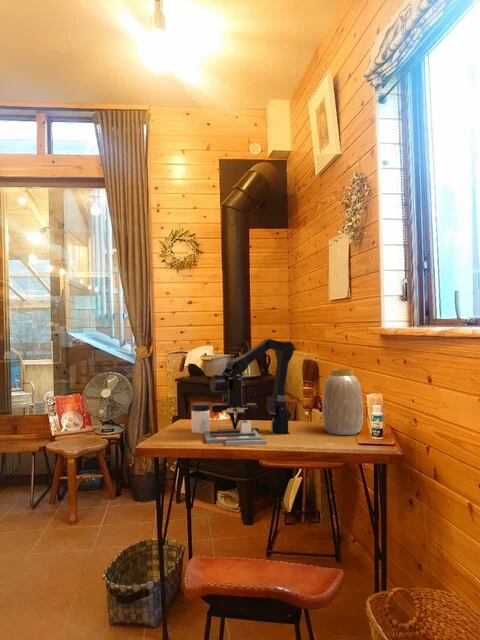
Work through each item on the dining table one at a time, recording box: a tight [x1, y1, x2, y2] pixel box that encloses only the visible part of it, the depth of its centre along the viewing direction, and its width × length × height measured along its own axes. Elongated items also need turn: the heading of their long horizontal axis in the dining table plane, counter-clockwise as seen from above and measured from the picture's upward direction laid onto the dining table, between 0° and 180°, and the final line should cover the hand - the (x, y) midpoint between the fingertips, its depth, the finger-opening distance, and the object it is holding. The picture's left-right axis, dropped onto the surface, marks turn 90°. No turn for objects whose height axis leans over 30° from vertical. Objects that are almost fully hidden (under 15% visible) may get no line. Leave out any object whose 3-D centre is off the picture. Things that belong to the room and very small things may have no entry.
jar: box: [191, 402, 211, 434], centre depth 198 cm, size 9×8×12 cm
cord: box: [216, 427, 260, 433], centre depth 196 cm, size 18×1×1 cm, turn 98°
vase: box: [321, 368, 364, 436], centre depth 196 cm, size 17×17×27 cm
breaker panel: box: [203, 429, 263, 445], centre depth 185 cm, size 22×16×2 cm
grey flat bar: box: [224, 438, 268, 447], centre depth 175 cm, size 16×3×1 cm, turn 98°
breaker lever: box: [239, 419, 252, 433], centre depth 186 cm, size 4×4×5 cm
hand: (234, 428), depth 185 cm, fingers closed
